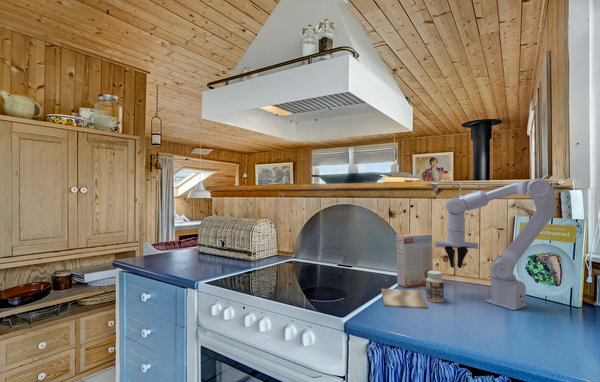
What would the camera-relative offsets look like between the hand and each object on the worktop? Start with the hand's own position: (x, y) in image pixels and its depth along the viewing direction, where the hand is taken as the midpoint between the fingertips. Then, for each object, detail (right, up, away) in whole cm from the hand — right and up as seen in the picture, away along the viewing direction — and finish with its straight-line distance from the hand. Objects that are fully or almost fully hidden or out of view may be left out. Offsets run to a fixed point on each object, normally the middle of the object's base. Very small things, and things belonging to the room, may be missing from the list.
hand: (455, 267), depth 117 cm
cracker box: (-10, -11, +15) cm, 21 cm away
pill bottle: (-10, -11, -5) cm, 15 cm away
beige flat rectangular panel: (-20, -11, -3) cm, 23 cm away
